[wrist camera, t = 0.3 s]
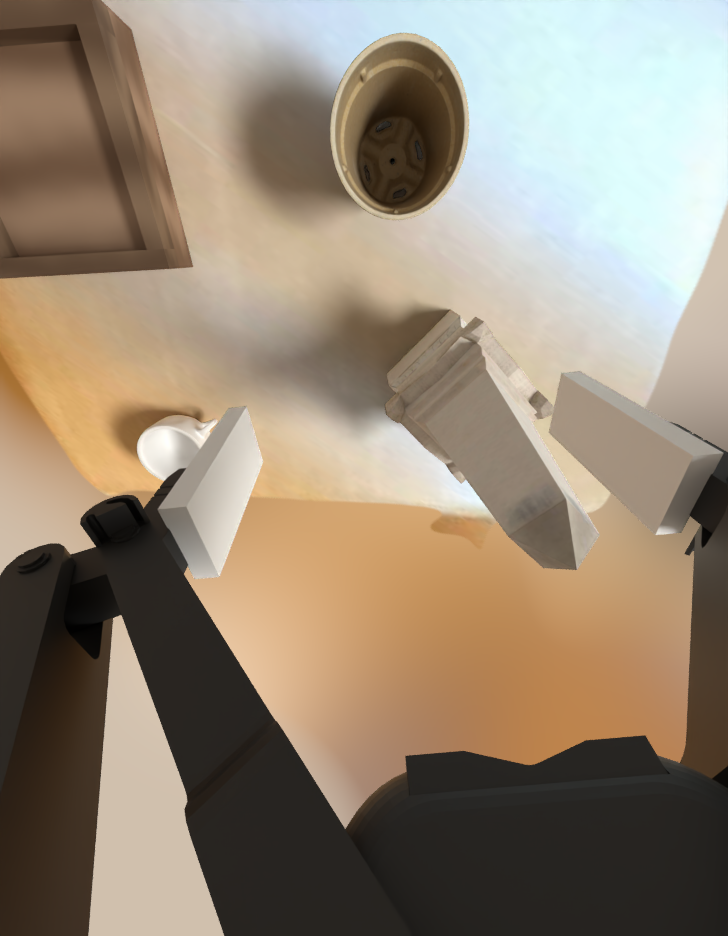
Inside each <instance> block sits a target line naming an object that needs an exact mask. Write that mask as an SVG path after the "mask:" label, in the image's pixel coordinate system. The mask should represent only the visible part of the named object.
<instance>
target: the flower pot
mask: <svg viewBox="0 0 728 936" xmlns="http://www.w3.org/2000/svg"><path fill="white" fill-rule="evenodd" d="M384 122H390V123H391V126H390V127H387V128H385V129H383V130H381V131H379V132H377V131H376V128H377V127H378V126H379V125H380V124H381V123H384ZM468 135H469V111H468V103H467V98H466V93H465V89H464V86H463V83H462V80H461V77H460V75H459V73H458V71H457V69H456V67H455V66H454V64H453V62H452V61H451V60H450V58H449V57H448V56H447V54H446V53H445V52H444V51H443V50H442V49H441V48H440V47H439V46H437V45H436V44H435V43H433V42H432V41H430V40H429V39H427V38H425V37H422V36H419V35H417V34H410V33H396V34H392V35H389V36H386V37H383V38H380V39H379V40H377V41H375V42H374V43H372V44H371V45H369V46H368V47H367V48H365V49H364V50H363V51H362V52H361V53H360V54H359V55H358V56H357V57H356V58H355V60H354V61H353V62H352V63H351V65H350V66H349V68H348V69H347V71H346V73H345V74H344V76H343V78H342V80H341V82H340V84H339V87H338V90H337V93H336V96H335V99H334V103H333V107H332V113H331V121H330V142H331V150H332V156H333V160H334V164H335V167H336V170H337V173H338V175H339V178H340V180H341V182H342V184H343V186H344V188H345V189H346V191H347V192H348V194H349V195H350V196H351V198H352V199H353V200H354V201H355V202H356V203H357V204H358V205H359V206H360V207H362V208H363V209H364V210H365V211H367V212H369V213H371V214H372V215H374V216H377V217H380V218H383V219H388V220H404V219H409V218H413V217H415V216H418V215H420V214H422V213H424V212H426V211H427V210H429V209H430V208H432V207H433V206H434V205H435V204H436V203H437V202H438V201H439V200H440V199H441V198H442V197H443V196H444V195H445V194H446V193H447V191H448V190H449V188H450V187H451V185H452V184H453V182H454V181H455V179H456V177H457V175H458V173H459V170H460V168H461V165H462V163H463V159H464V156H465V152H466V148H467V143H468ZM415 142H418V144H419V146H420V149H421V152H422V159H421V160H419V159H418V158H417V150H416V147H415ZM391 158H393V159H395V162H394V164H393V165H392V164H391V163H390V160H391ZM365 165H366V166H367V169H368V172H370V173H369V177H370V180H369V181H367V178H366V174H365V170H364V168H365ZM404 188H405V190H406V194H405V195H404V196H402V197H398V198H394V197H393V194H394V193H395V192H397V191H400V190H402V189H404Z"/></svg>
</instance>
